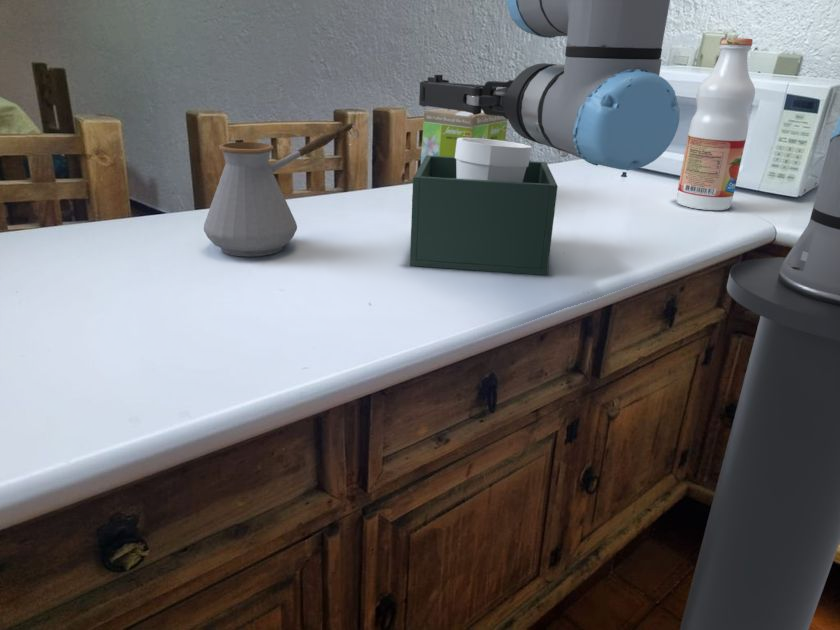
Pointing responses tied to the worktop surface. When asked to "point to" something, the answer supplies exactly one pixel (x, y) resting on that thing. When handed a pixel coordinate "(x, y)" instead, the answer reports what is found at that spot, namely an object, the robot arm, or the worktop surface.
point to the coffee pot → (254, 199)
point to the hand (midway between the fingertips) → (482, 90)
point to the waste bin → (481, 219)
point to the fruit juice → (718, 131)
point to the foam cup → (491, 159)
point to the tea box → (457, 130)
